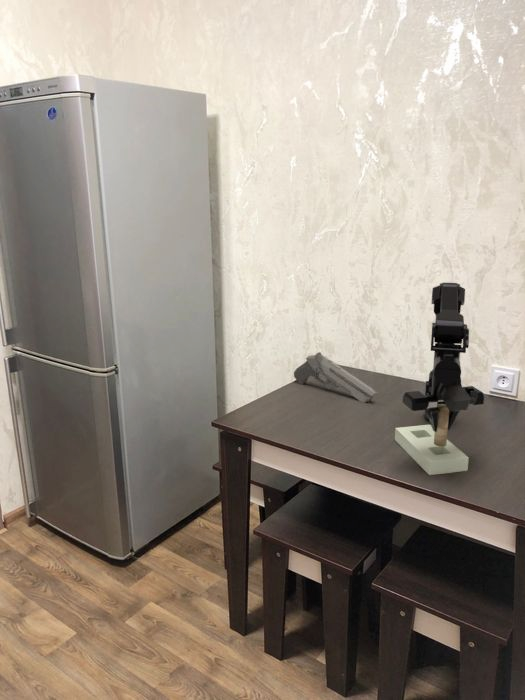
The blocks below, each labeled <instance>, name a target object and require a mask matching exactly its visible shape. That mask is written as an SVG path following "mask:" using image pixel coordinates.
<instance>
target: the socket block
mask: <svg viewBox="0 0 525 700" xmlns="http://www.w3.org/2000/svg"><path fill="white" fill-rule="evenodd" d="M394 431H395V432H394V441H396V443H397V444H398V445H399V446H400V447H401V448H402V449H403V450H404V451H405V452H406V453H407V454H408V455H409V456H410V457H411V458H412V460H414V461H415V462H416V464H418V465H419V467H421V468H422V469H423V470H424V471H425V472H426V474H428V475H429V476H435V475H442V474H443V475H444V474H451V473H459V472H467V471H468V468H469V458H470V457H468V456H467V455H466V454H465V453H464V452H463V451H462V450H461V449H460V448H458V447H456V446H455V444H453V443H452V442H451V441H450V440H448V439H447V444H446V446H443V447H441V446H436V445H435V444H434V433H435V432H434V431H433V429H432V426H431V424H422V425H410V426H402V427H401V426H400V427H395V430H394Z"/></svg>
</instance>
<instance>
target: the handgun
mask: <svg viewBox="0 0 525 700" xmlns="http://www.w3.org/2000/svg"><path fill="white" fill-rule="evenodd" d="M305 359H306V361H305V362H303V363H302V364H301V365H300V366H298V367H297V368H296V369H295V370H294V371H293V377H294V379H295V380H296V381H297V383H298V384H299V385H305V384H306V383H307V381H308V379H309V378H310V377H312V378H313V379H314V380H315V381H316V382H318V383H319V384H320V385H322V386H324V387H325V388H326V389H328V390H332V389H333V388H335V389H337V388H340V389H342V390H343V391H345V392H346V393H347V394H349V395H351V396H353V398H355V399H357V400H358V401H359V402H361V403H364V404H365V403H366V402H368V403H369V402H370V401H371V400H372V399H373V398H374V396H375V395H376V394H378V392H377V391H376V389H373V387H371V386H369V385H367V384H366V383H365V382H364V381H362V380H360V379H359V378H357V377H356V376H354V375H352V373H351V372H349V371H347V370H345V369H344V368H342V367H341V366H340V365H338V364H337V363H336V362H334V361H332V360H330V359H329V358H328V357H326V356H325V355H323V354H322V352H320V351H319V352H316V353H315V354H312V355H308V356H307V357H306V358H305ZM320 375H321V376H323V377H325V378H326V379H325V381H324V380H323V379H321V378H320Z"/></svg>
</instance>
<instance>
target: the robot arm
mask: <svg viewBox="0 0 525 700" xmlns="http://www.w3.org/2000/svg"><path fill="white" fill-rule="evenodd" d="M431 292H432V293H431V305H433V314H435V322H431V323H432V324H431V341H430V352H433V355H434V356H433V367H432V370H430V372H429V374H428V380H426V381H425V390H424V394H423V393H422V392H421V391H419V390H415V391H405V393H404V394H403V395H402V403H403V404H404V406H406V407H407V408H409V409H410V411H413V412H417V411H424V414H422V415H423V417H424V418H425V419H426V420H427V421H429V424H430V425H431V426H432V429H433V431H434V432H436V431H437V423H438V413H439V412H440V409H439V408H438V407H437V405H438V404H446V406H447V408H448V409H449V420H448V432H449V431H450V430H451V428H452V425H453V424H454V421H455V420H456V418H457V416H458V414H459V413H460V412H462V411H467V410H468V409H469V406H470V405H472V406H479V405H484V404H485V399H486V396H485V394H484V392H482V391H481V390H480V389H478V388H476V387H475V386H474V385H470V386H463V385H462V378H461V375H462V368H461V362H460V358H461V357H460V355H461V354H462V353H463V354H466V353H467V351H466V350H467V349H469V346H470V340H469V339H470V329H469V328H468V325H467V324H466V323H465V322H464V321H465V320H464V317H465V316H464V315H463V314H461V311H462V309H461V308H462V306H464V305H465V299H466V298H465V297H466V289H465V288H464V287H463V286H461V284H460V283H458V282H442V283H439V285H437V286H434V287H432V291H431ZM434 343H435V345H434Z"/></svg>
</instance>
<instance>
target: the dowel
mask: <svg viewBox="0 0 525 700" xmlns="http://www.w3.org/2000/svg"><path fill="white" fill-rule="evenodd" d="M437 407H438V408H439V409H440V412H439V413H438V423H437V431H436V432H435V433H434V444H435V445H436V446H441V447H443V446H446V444H447V440H448V433H449V431H448V420H449V409H448V408H447V406H446V404H438V405H437Z"/></svg>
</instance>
